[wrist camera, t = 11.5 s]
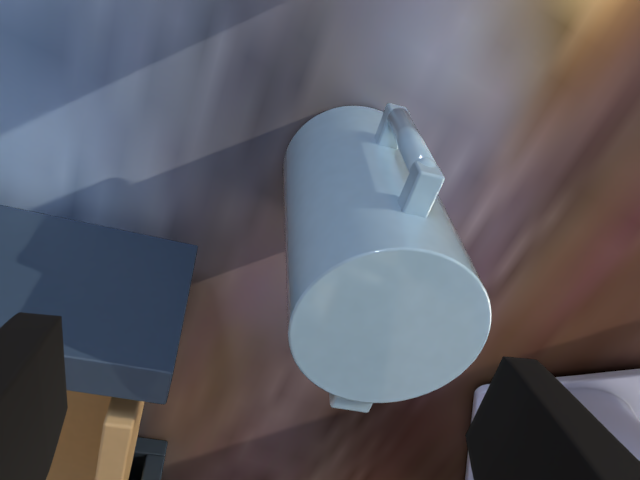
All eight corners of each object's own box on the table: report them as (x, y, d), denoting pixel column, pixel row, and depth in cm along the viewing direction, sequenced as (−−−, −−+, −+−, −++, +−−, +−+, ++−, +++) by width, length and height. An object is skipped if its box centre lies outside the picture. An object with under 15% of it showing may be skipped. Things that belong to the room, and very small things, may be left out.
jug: (314, 53, 17) (340, 176, 10) (450, 92, 18) (555, 228, 11) (264, 224, 20) (260, 404, 13) (383, 250, 21) (434, 431, 14)
